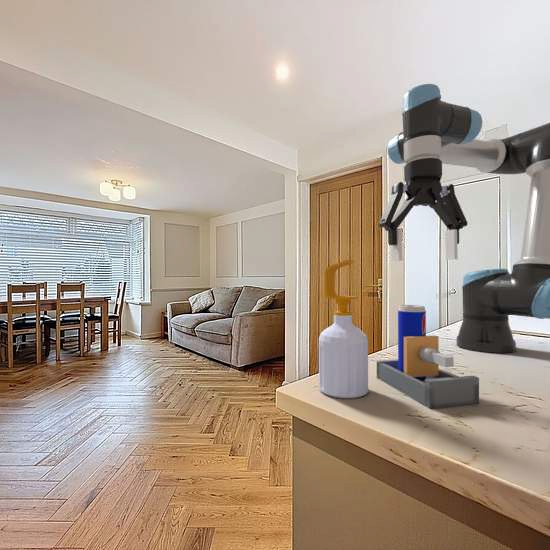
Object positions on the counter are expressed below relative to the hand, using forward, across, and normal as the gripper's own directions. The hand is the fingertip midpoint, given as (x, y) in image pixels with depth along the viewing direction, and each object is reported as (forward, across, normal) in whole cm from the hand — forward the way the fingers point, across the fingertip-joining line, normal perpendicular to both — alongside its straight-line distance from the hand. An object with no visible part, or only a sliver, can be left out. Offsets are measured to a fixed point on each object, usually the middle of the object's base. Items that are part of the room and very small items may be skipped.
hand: (424, 260), depth 72 cm
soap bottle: (+25, +22, +5) cm, 33 cm away
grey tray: (+25, +7, +8) cm, 27 cm away
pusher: (+22, +7, +11) cm, 26 cm away
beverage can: (+24, +7, +4) cm, 26 cm away
